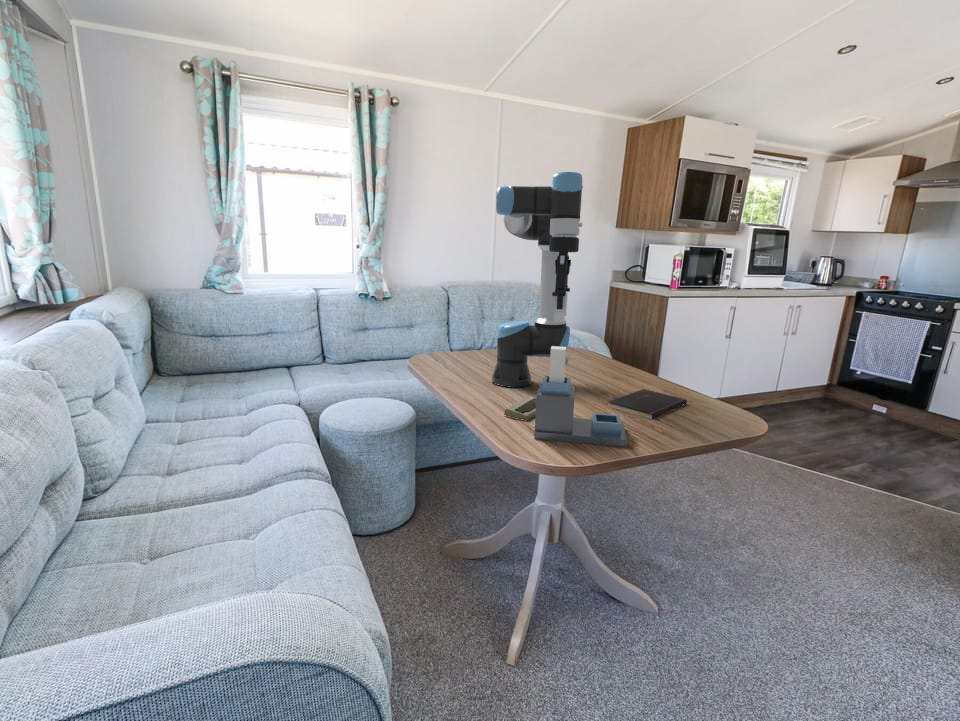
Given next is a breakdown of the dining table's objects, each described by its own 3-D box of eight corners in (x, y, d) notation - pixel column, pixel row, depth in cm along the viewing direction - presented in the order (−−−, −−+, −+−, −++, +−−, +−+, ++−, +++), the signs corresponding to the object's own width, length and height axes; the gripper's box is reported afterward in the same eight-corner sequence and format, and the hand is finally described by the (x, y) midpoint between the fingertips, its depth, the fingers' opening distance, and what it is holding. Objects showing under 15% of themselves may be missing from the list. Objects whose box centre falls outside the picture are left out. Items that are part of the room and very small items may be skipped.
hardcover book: (606, 408, 159) (607, 401, 159) (642, 395, 174) (643, 388, 174) (652, 421, 148) (653, 414, 147) (686, 406, 163) (687, 399, 162)
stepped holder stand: (534, 438, 131) (536, 385, 128) (538, 421, 144) (540, 372, 141) (626, 447, 126) (631, 392, 123) (621, 428, 140) (626, 378, 136)
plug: (548, 391, 133) (550, 348, 130) (549, 387, 136) (551, 346, 134) (566, 393, 132) (568, 349, 129) (566, 389, 135) (569, 347, 133)
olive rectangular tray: (527, 422, 144) (527, 412, 144) (503, 417, 149) (503, 407, 148) (548, 408, 158) (549, 398, 157) (526, 404, 162) (526, 394, 161)
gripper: (578, 234, 112) (573, 325, 117) (579, 238, 136) (575, 313, 141) (546, 234, 114) (542, 324, 118) (552, 237, 137) (549, 312, 142)
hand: (560, 318), depth 129 cm, fingers open, 13 cm apart
